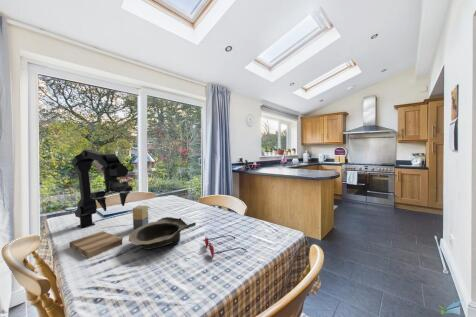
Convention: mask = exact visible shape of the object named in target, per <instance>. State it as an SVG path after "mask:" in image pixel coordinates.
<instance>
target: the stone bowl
mask: <svg viewBox="0 0 476 317" xmlns="http://www.w3.org/2000/svg"><path fill="white" fill-rule="evenodd" d="M187 226H188V223H187V222H186V221H184V220H183V219H182V218H181V217H180V218H177V217H172V216H170V217H169V216H166V217H161V218H160V219H157V221H156V220H155V221H150V223H149V222H148V224H146V225H143V226H141V227H139V228H137V229H136V230H133V231H132V232H131V233H130V234H129V236H128V242H129V243H131V244H133V245H136V246H140V248H141V249H142V250H151V249H156V248H161V247H164V246H167V245H170V244H173V245H176V244H179V243H180V240H181V232H182V231H183V230H184V229H185V227H187Z"/></svg>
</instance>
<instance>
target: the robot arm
mask: <svg viewBox="0 0 476 317" xmlns="http://www.w3.org/2000/svg"><path fill="white" fill-rule="evenodd" d="M94 161H97V162H98V164H99V165H101V166H103V167H102V168H101V169H100V170H101V171H103V178H104V180H103V181H102V183H103V184H104V186H105V187H104V190H98V191H93V192H92V190H91V182H90V170H91V169H92V164H93V162H94ZM71 164H72V165H73V166H72V167H73V169H74V171H75V172H76V173H77V176H78V184H79V192H80V193H79V194H80V199H79V201H78V203H77V208H76V210H75V212H74V215H75V217H76V218H79V224H78V225H77V227H79V228H81V229H85V228H88V227H91V226H95V225H96V223H95V222H93V215H94V214H96V213H97V209H98V205H97V203H98V204H99V205H100V207H101V208H102V210H103V211H104V212H107V204H106V199H107V197H106V196H107V195H111V194H117V193H119V200H120V203H121V206H122V207H124V206H125V203H126V200H127V197H128V195H129V194H130V193H131V192H132V191H133V186H132V185H130V184H129V181H127V180H126V181H122V182H121V181H120V178H125V177H126V176H127V175H128V173H129V169H128V168H127V166H126V165H124V163H123V162H122V161H120V158H119V157H118V156H117V154H116V153H103V152H99V151H97V150H96V151H95V150H94V149H84V150H82V151H81V152H80V153H78V154H77V155H75V156H74V157H73V159H72V161H71Z"/></svg>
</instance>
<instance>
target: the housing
mask: <svg viewBox="0 0 476 317" xmlns="http://www.w3.org/2000/svg"><path fill="white" fill-rule="evenodd" d="M146 224H149V206H148V205H141V204H139V205H137V206H134V207H133V208H132V227H133V231H134V230H136V229H137V228H139V227H141V226H143V225H146Z"/></svg>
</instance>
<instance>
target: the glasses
mask: <svg viewBox="0 0 476 317" xmlns="http://www.w3.org/2000/svg"><path fill="white" fill-rule="evenodd" d="M226 237H232V238H233V239H235V238H236V237H235V236H233V235H231V234H229V235H222V236H216V237H211V238H208V237H205V238H204V239H202V241H203V242H204V243H205V247H206V248H208V249H209V252H210V255H211V257H212V259H213V258H214V255H216V254H221V253H225V252H228V251H229V252H230V251H233V250H238V249H242V250H243V251H246V250H247V249H246V248H243V247H235V248H231V249H226V250H221V251H216V252H215V250H214V249H215V248H214V246H213V244H212V242H211V241H212V240H216V239H220V238H226ZM210 240H211V241H210ZM246 252H247V251H246Z"/></svg>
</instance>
